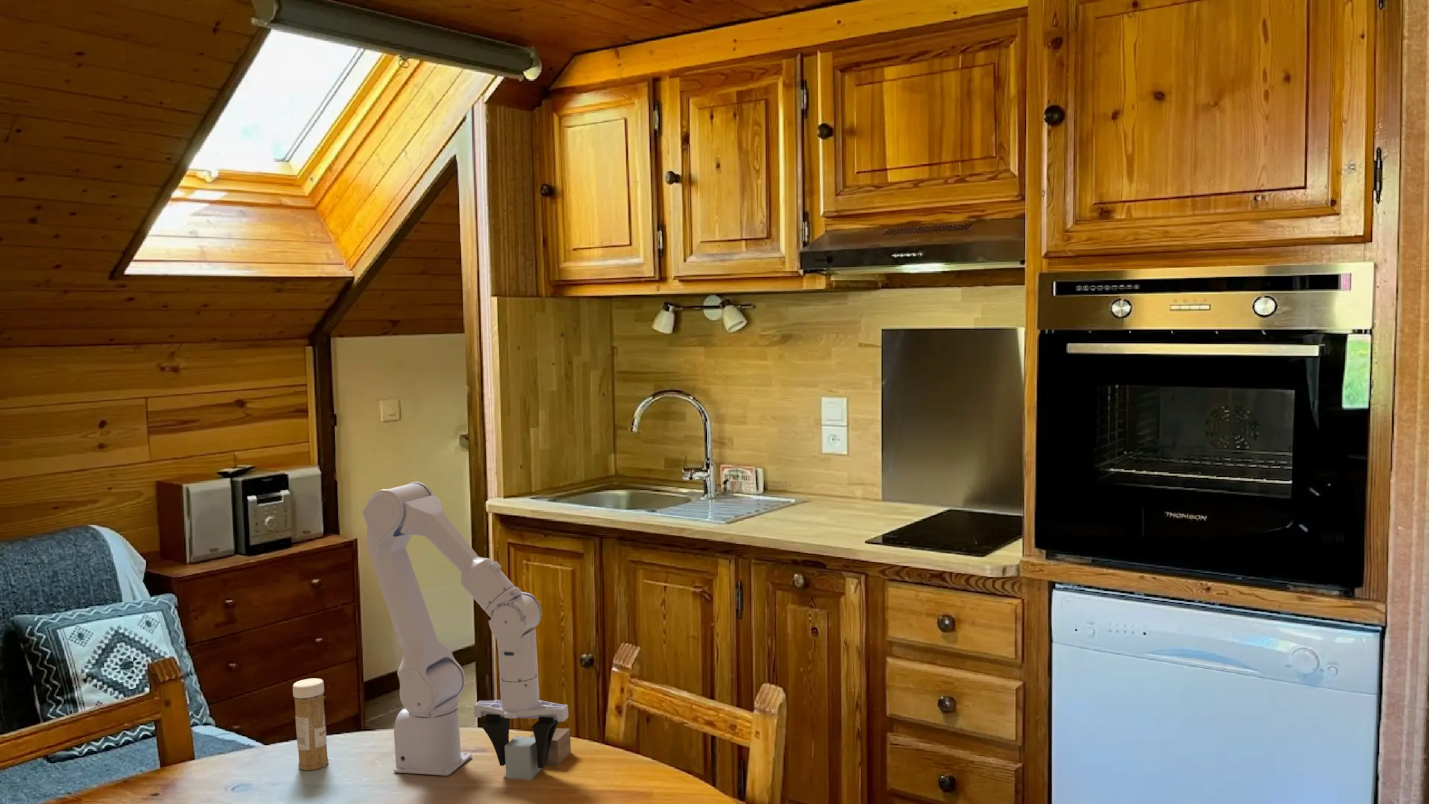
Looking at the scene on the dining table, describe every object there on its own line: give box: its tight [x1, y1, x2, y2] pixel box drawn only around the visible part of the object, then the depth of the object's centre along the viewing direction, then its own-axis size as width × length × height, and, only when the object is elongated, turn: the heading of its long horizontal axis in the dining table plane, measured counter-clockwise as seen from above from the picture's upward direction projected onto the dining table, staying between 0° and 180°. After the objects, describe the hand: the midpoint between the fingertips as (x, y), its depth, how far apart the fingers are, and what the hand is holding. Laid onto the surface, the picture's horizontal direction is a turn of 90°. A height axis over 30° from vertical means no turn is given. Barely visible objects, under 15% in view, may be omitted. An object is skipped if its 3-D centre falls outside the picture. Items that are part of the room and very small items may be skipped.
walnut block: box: [529, 727, 572, 766], centre depth 170 cm, size 5×5×4 cm
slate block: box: [505, 736, 543, 781], centre depth 164 cm, size 4×4×5 cm
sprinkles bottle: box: [292, 677, 329, 771], centre depth 171 cm, size 5×5×14 cm
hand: (523, 764), depth 164 cm, fingers open, 6 cm apart
